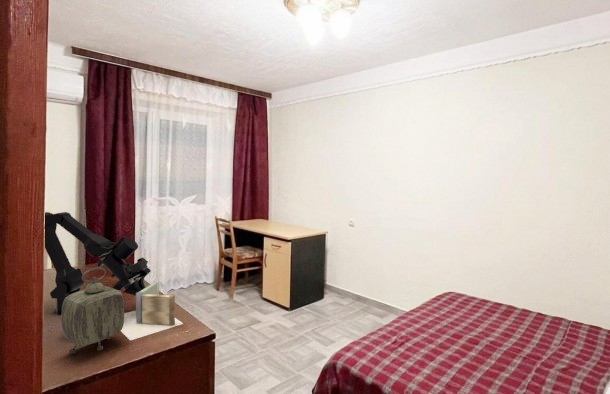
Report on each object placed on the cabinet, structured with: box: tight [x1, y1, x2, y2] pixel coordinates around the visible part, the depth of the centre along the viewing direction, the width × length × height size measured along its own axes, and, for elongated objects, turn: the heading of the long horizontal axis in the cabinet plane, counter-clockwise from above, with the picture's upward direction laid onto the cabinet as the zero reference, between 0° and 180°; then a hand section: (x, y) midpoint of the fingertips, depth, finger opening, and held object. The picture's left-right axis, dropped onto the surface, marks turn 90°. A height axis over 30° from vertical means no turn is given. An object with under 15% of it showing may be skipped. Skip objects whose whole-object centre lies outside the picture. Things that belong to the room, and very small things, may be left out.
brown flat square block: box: [141, 294, 176, 326], centre depth 120 cm, size 12×2×11 cm, turn 86°
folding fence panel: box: [135, 280, 160, 323], centre depth 126 cm, size 14×2×10 cm, turn 178°
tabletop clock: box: [60, 266, 125, 355], centre depth 102 cm, size 14×9×25 cm, turn 150°
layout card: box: [120, 309, 184, 341], centre depth 122 cm, size 18×23×1 cm
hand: (146, 297), depth 127 cm, fingers closed
